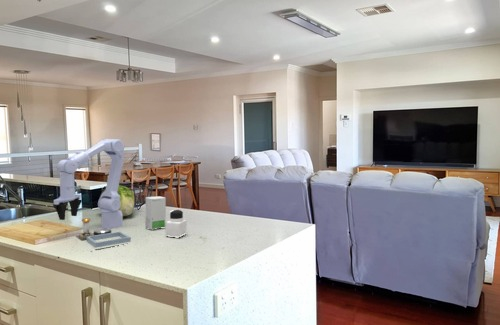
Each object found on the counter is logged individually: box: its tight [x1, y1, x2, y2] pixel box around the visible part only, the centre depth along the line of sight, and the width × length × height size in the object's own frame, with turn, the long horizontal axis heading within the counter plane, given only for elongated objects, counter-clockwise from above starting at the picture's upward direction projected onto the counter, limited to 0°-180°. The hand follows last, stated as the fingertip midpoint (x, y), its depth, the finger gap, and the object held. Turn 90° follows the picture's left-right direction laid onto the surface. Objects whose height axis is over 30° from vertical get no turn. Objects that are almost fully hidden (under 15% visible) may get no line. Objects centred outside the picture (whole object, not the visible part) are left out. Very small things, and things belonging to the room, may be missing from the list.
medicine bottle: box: [165, 209, 187, 236], centre depth 179 cm, size 7×7×12 cm
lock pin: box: [81, 217, 91, 236], centre depth 170 cm, size 3×3×8 cm
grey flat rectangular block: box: [75, 228, 112, 242], centre depth 173 cm, size 14×10×3 cm
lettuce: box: [99, 184, 136, 218], centre depth 218 cm, size 18×23×19 cm
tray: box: [86, 231, 132, 251], centre depth 165 cm, size 15×12×3 cm
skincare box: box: [144, 195, 167, 230], centre depth 192 cm, size 8×7×16 cm
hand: (68, 217), depth 170 cm, fingers open, 7 cm apart
